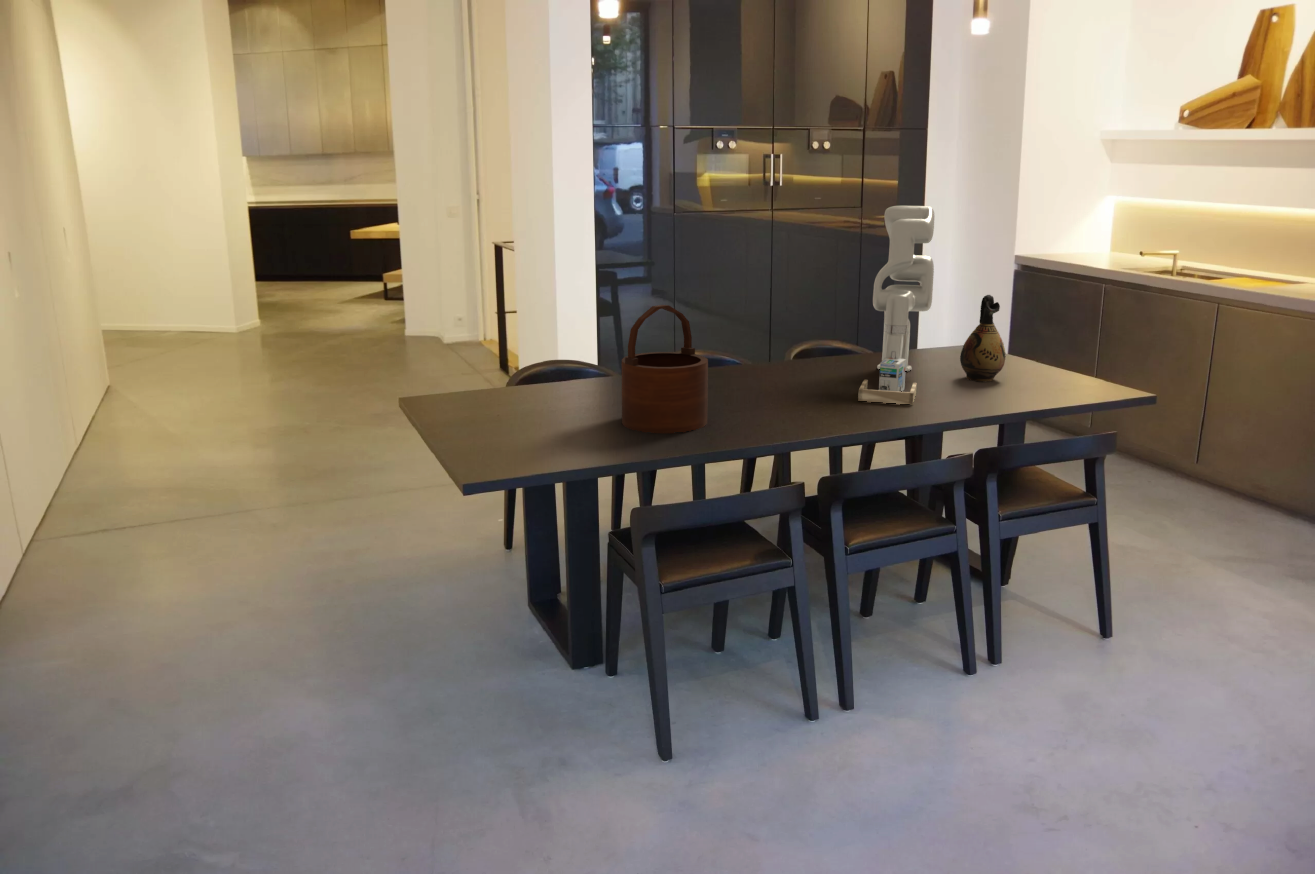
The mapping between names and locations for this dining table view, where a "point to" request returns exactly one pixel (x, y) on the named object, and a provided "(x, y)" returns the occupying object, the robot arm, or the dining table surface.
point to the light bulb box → (892, 374)
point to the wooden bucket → (664, 385)
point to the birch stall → (886, 395)
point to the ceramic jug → (984, 346)
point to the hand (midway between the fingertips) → (892, 381)
